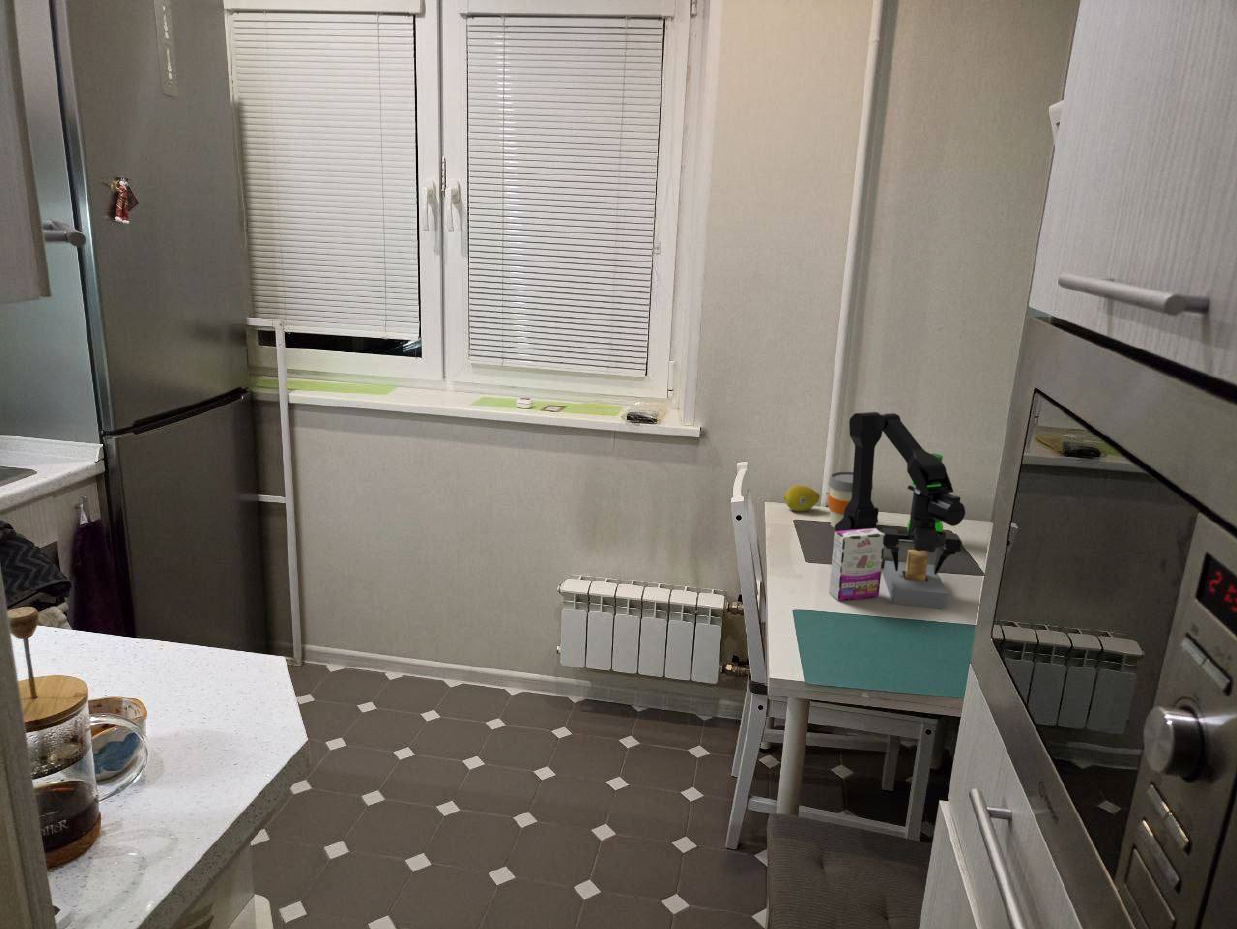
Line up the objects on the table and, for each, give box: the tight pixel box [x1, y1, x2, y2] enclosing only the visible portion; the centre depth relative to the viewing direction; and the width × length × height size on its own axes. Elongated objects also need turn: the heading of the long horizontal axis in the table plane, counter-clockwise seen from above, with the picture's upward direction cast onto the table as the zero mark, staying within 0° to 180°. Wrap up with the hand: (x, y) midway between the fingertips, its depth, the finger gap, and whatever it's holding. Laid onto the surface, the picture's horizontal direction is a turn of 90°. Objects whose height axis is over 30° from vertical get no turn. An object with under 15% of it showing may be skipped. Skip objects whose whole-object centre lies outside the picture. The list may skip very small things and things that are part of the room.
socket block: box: [882, 560, 949, 610], centre depth 222 cm, size 12×18×4 cm, turn 171°
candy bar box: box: [829, 527, 885, 602], centre depth 216 cm, size 11×5×16 cm, turn 105°
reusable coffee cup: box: [828, 471, 874, 529], centre depth 266 cm, size 13×13×15 cm
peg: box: [905, 549, 929, 581], centre depth 221 cm, size 4×4×10 cm
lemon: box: [783, 484, 820, 512], centre depth 279 cm, size 11×8×8 cm
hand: (915, 572), depth 221 cm, fingers open, 9 cm apart
